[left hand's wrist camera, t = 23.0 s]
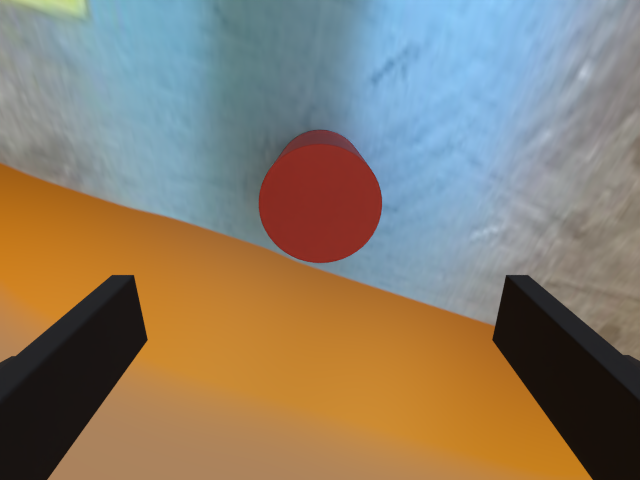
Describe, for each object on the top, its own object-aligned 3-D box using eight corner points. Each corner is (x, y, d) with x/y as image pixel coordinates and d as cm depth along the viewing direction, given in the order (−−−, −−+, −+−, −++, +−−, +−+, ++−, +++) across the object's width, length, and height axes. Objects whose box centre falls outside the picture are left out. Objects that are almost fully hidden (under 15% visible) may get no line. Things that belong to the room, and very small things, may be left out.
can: (269, 137, 34) (246, 153, 24) (358, 123, 34) (376, 134, 23) (285, 220, 38) (271, 270, 27) (366, 209, 37) (386, 255, 26)
